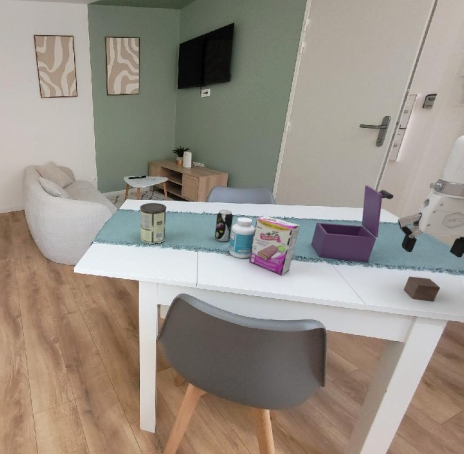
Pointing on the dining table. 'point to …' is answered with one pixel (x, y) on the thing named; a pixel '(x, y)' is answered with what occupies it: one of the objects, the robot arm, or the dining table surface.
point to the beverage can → (223, 225)
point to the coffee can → (152, 222)
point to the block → (421, 288)
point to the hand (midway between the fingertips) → (430, 252)
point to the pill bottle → (242, 238)
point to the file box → (343, 242)
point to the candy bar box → (273, 244)
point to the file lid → (373, 209)
